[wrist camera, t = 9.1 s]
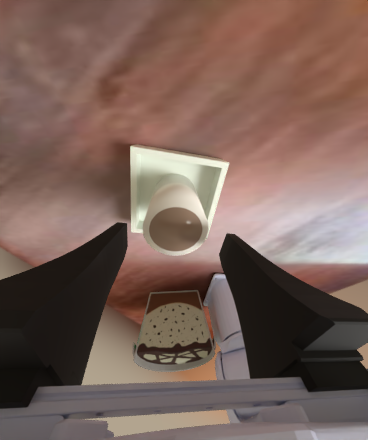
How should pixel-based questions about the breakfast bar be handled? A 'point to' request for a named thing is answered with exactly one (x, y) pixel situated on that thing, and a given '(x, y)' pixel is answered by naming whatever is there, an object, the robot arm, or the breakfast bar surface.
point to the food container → (174, 333)
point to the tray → (173, 164)
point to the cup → (175, 217)
